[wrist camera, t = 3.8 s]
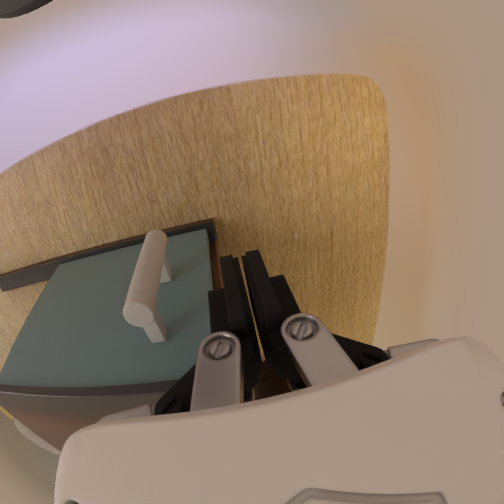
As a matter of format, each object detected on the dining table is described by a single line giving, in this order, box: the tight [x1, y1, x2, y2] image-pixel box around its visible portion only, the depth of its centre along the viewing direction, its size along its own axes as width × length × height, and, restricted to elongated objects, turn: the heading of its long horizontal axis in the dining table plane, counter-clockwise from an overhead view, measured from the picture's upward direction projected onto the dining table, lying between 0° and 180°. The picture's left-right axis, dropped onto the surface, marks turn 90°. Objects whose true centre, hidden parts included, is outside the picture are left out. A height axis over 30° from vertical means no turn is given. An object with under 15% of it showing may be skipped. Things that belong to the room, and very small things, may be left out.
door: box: [0, 229, 213, 387], centre depth 16 cm, size 4×15×14 cm, turn 99°
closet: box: [0, 218, 224, 452], centre depth 19 cm, size 13×26×16 cm, turn 99°
